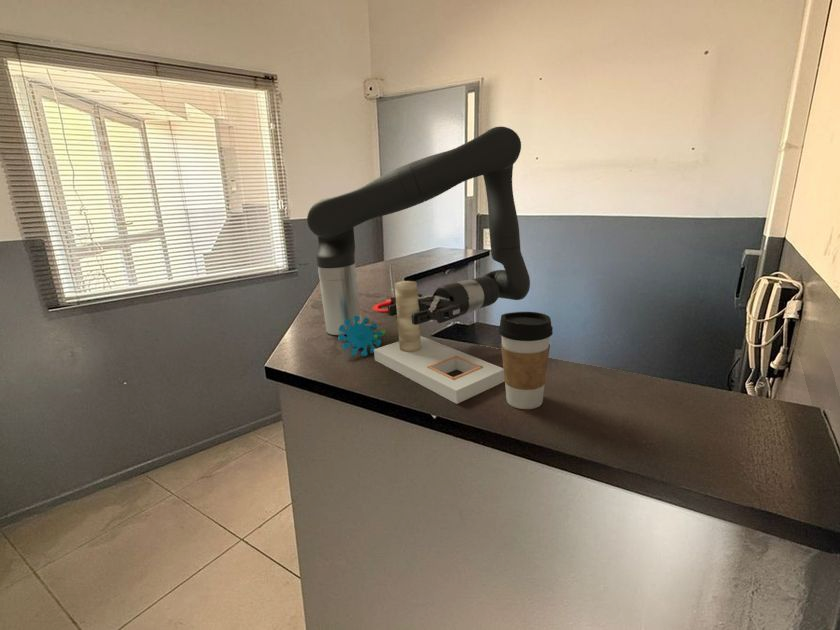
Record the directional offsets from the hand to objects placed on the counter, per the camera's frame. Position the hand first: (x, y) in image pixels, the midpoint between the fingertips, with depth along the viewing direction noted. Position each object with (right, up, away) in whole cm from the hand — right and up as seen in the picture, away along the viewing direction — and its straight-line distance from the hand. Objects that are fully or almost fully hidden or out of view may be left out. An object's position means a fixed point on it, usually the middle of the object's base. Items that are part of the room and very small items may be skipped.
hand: (400, 315), depth 89 cm
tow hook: (-5, +2, +42) cm, 42 cm away
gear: (-9, -8, +10) cm, 16 cm away
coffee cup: (+22, -15, -16) cm, 30 cm away
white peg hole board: (+7, -11, -2) cm, 13 cm away
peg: (+2, -7, +3) cm, 8 cm away
